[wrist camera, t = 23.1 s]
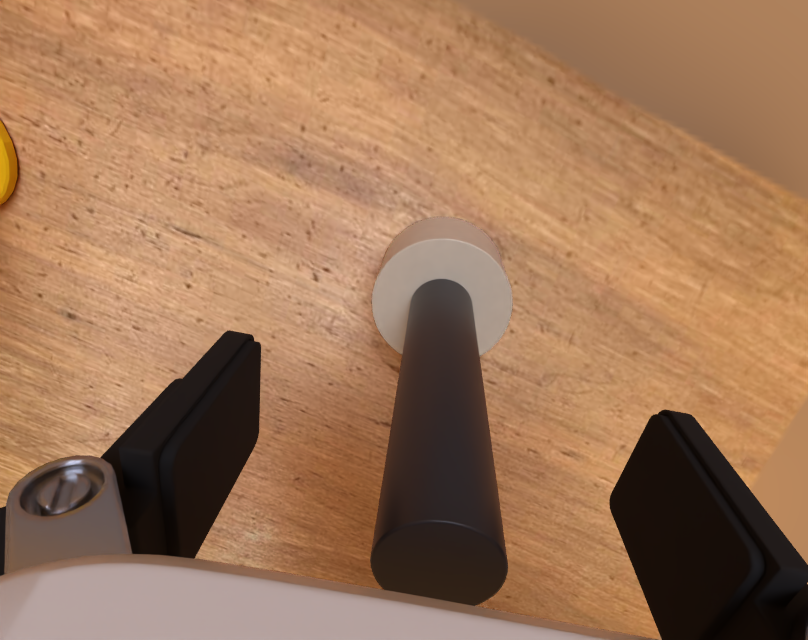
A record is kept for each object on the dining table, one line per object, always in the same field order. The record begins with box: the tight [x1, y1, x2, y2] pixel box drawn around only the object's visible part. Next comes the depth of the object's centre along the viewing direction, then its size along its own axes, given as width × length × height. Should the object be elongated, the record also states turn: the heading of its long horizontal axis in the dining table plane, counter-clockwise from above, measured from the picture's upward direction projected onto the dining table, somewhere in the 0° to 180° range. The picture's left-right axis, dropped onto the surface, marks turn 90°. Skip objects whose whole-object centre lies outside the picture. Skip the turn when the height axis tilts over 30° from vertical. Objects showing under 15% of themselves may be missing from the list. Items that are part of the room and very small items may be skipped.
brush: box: [370, 217, 513, 606], centre depth 13 cm, size 5×5×13 cm
